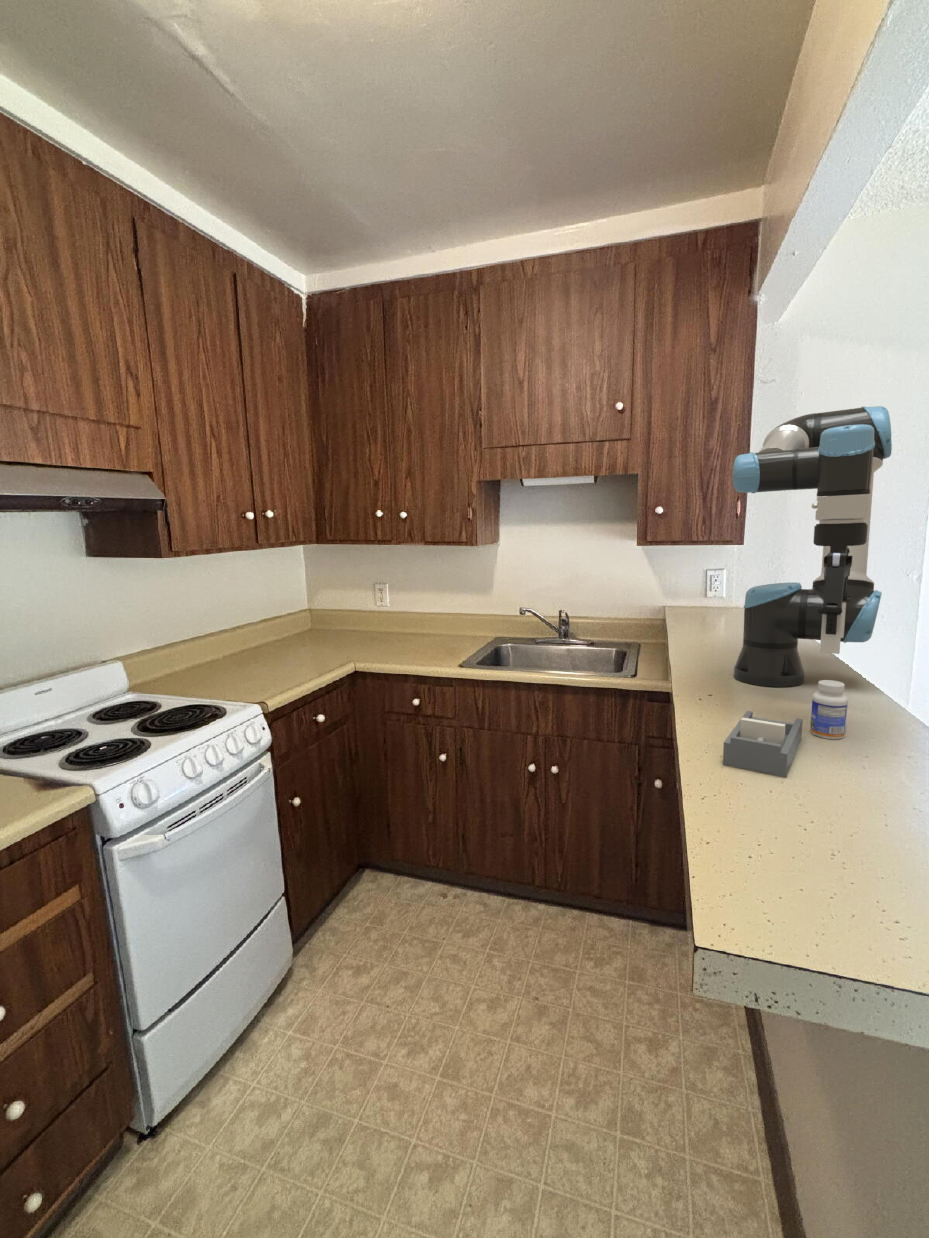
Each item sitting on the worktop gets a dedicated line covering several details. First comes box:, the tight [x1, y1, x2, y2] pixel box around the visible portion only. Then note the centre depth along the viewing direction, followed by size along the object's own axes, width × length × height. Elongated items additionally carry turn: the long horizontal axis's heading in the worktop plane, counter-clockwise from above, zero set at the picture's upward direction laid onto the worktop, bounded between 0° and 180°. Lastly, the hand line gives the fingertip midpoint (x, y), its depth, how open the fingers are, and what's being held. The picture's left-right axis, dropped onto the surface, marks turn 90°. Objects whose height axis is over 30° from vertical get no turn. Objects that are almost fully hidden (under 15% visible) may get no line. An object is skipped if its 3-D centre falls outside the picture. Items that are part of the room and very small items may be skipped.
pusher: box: [740, 716, 785, 749], centre depth 92 cm, size 5×6×5 cm
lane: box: [722, 710, 804, 778], centre depth 95 cm, size 18×9×5 cm, turn 143°
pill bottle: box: [809, 679, 849, 740], centre depth 101 cm, size 5×5×10 cm
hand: (832, 644), depth 99 cm, fingers open, 13 cm apart
